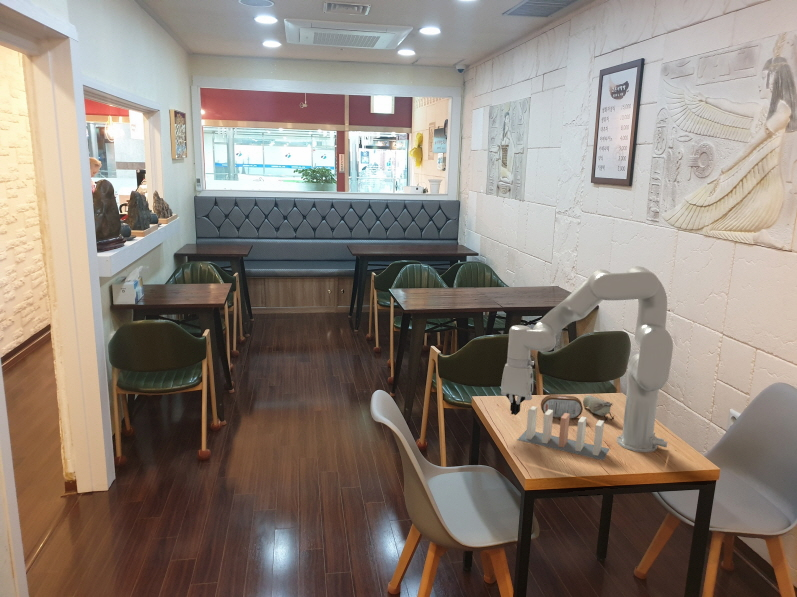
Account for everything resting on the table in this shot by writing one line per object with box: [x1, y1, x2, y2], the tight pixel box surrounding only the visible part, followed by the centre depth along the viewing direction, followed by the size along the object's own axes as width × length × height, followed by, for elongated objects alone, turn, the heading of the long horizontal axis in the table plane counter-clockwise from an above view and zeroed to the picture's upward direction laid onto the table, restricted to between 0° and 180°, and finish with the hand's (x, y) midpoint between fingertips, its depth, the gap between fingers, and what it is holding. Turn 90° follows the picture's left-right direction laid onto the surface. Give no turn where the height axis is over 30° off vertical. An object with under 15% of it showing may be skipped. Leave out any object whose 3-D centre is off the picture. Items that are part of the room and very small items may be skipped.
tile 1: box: [526, 405, 538, 440], centre depth 203 cm, size 2×5×10 cm, turn 150°
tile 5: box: [593, 419, 605, 456], centre depth 192 cm, size 2×5×10 cm, turn 150°
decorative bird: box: [582, 394, 615, 423], centre depth 226 cm, size 5×16×8 cm, turn 18°
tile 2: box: [542, 409, 554, 444], centre depth 200 cm, size 2×5×10 cm, turn 150°
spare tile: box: [558, 413, 570, 447], centre depth 198 cm, size 2×5×10 cm, turn 150°
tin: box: [540, 394, 584, 420], centre depth 222 cm, size 15×3×8 cm, turn 84°
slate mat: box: [517, 429, 610, 461], centre depth 199 cm, size 28×10×1 cm, turn 60°
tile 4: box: [575, 416, 588, 452], centre depth 195 cm, size 2×5×10 cm, turn 150°
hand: (514, 413), depth 205 cm, fingers closed
